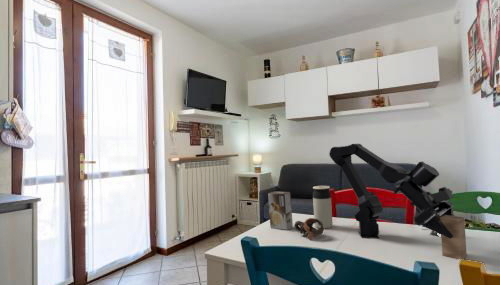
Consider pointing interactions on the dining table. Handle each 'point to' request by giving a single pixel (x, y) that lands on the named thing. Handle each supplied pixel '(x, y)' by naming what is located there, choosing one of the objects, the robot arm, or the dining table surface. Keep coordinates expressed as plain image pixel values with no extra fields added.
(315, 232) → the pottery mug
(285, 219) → the coffee box
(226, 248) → the dining table surface
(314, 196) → the travel mug
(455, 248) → the walnut block
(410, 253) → the dining table surface
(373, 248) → the dining table surface
